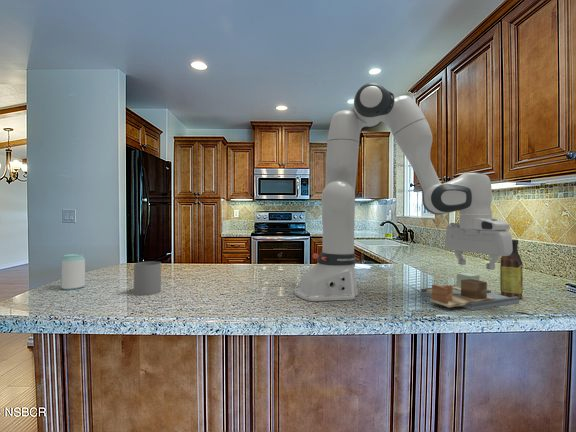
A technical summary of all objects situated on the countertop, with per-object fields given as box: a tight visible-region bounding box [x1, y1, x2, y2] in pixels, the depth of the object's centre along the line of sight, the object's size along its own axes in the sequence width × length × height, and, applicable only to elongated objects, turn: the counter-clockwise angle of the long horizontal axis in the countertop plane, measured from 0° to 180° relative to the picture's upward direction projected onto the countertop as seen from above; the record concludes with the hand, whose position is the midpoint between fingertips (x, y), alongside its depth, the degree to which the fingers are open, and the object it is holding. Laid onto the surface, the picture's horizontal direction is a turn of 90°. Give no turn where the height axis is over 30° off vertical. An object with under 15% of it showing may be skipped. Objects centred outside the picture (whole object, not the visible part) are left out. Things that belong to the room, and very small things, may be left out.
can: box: [60, 253, 86, 291], centre depth 108 cm, size 7×7×12 cm
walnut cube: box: [461, 279, 488, 300], centre depth 96 cm, size 5×5×5 cm
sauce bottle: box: [499, 238, 524, 299], centre depth 104 cm, size 7×6×20 cm
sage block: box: [456, 272, 480, 288], centre depth 108 cm, size 5×5×5 cm
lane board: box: [420, 284, 520, 311], centre depth 101 cm, size 22×19×2 cm
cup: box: [133, 260, 162, 297], centre depth 104 cm, size 8×8×10 cm
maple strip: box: [429, 284, 495, 308], centre depth 94 cm, size 20×7×5 cm, turn 112°
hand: (475, 266), depth 96 cm, fingers open, 8 cm apart
